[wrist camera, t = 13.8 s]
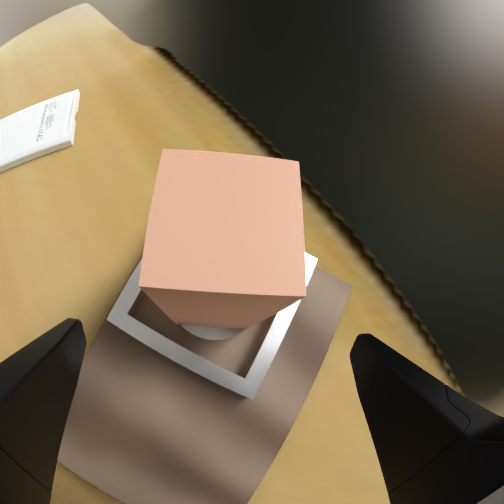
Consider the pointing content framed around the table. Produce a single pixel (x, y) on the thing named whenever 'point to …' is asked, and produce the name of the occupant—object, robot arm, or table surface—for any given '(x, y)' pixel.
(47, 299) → the table surface
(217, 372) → the board
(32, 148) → the external hard drive
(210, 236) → the terracotta pin
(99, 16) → the table surface
